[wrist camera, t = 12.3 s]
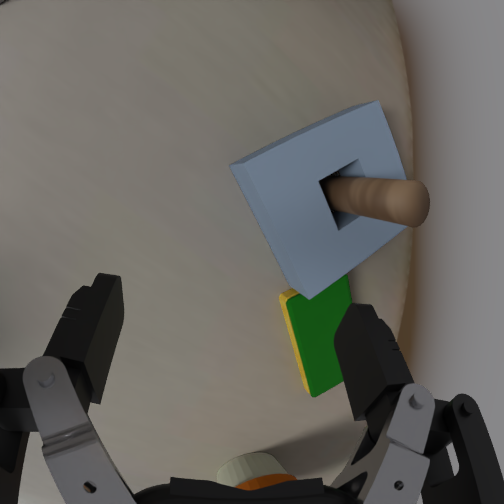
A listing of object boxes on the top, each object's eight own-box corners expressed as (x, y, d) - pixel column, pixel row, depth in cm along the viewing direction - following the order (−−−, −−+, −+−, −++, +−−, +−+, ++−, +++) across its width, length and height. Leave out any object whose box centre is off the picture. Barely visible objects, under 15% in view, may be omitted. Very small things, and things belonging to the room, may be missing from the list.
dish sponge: (303, 388, 36) (312, 399, 33) (276, 293, 31) (286, 301, 29) (350, 361, 37) (361, 370, 35) (334, 266, 33) (347, 272, 31)
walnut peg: (305, 184, 29) (395, 192, 18) (330, 170, 30) (423, 173, 19) (317, 213, 30) (407, 235, 19) (341, 198, 31) (433, 214, 20)
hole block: (228, 165, 26) (243, 163, 23) (353, 106, 29) (378, 100, 25) (289, 285, 31) (309, 299, 27) (392, 213, 34) (417, 218, 30)
